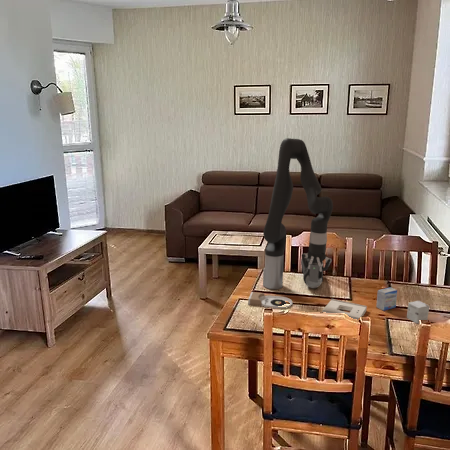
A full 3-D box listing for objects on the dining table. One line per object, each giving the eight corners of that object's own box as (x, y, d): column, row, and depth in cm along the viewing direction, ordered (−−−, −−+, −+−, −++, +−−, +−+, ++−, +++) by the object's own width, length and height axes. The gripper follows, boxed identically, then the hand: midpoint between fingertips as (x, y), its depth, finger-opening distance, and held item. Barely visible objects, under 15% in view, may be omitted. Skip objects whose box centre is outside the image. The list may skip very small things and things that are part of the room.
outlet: (321, 314, 198) (322, 310, 197) (331, 303, 210) (331, 298, 209) (358, 323, 190) (359, 318, 190) (366, 310, 202) (366, 306, 202)
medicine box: (383, 311, 202) (385, 293, 200) (375, 307, 206) (377, 289, 203) (396, 307, 205) (397, 290, 203) (388, 304, 209) (390, 286, 207)
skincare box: (406, 318, 195) (408, 302, 193) (416, 315, 198) (418, 300, 196) (417, 323, 190) (419, 307, 188) (427, 321, 192) (429, 305, 190)
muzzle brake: (317, 271, 251) (318, 254, 248) (322, 291, 224) (324, 271, 221) (300, 271, 252) (300, 253, 249) (303, 290, 225) (304, 271, 222)
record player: (252, 290, 218) (293, 294, 213) (251, 296, 218) (293, 300, 214) (247, 300, 207) (291, 304, 202) (247, 306, 207) (291, 311, 203)
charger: (308, 280, 204) (310, 264, 202) (312, 278, 207) (313, 261, 205) (317, 282, 202) (318, 266, 200) (320, 279, 205) (321, 263, 203)
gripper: (299, 240, 200) (297, 276, 204) (330, 246, 193) (327, 283, 197) (305, 236, 206) (303, 271, 211) (336, 241, 199) (332, 278, 204)
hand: (315, 277), depth 204 cm, fingers closed on charger, 4 cm apart
